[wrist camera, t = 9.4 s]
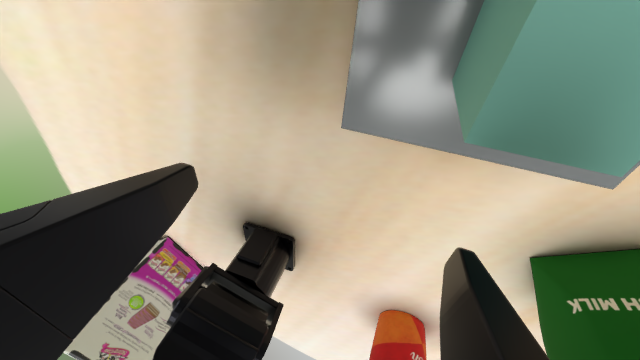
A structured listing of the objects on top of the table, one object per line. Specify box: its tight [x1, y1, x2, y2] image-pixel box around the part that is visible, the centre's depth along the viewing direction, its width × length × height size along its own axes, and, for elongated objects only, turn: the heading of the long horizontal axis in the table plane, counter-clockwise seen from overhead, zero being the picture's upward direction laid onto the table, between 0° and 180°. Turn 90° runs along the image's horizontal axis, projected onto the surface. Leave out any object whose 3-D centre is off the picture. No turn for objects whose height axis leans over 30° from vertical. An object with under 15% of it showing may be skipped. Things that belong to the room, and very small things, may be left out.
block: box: [452, 0, 640, 177], centre depth 9 cm, size 4×4×7 cm
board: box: [341, 0, 640, 189], centre depth 12 cm, size 13×16×1 cm
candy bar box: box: [63, 237, 208, 360], centre depth 38 cm, size 11×5×16 cm, turn 33°
